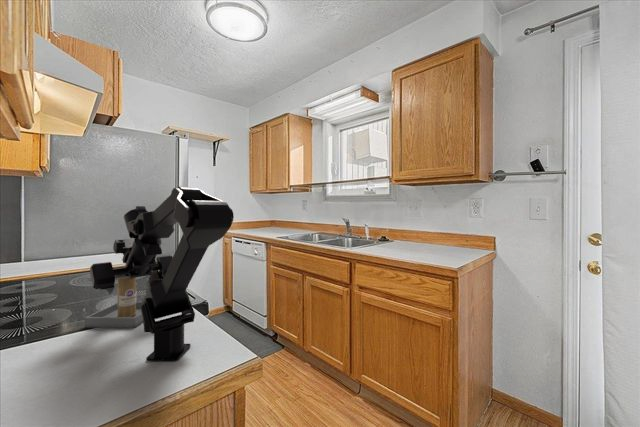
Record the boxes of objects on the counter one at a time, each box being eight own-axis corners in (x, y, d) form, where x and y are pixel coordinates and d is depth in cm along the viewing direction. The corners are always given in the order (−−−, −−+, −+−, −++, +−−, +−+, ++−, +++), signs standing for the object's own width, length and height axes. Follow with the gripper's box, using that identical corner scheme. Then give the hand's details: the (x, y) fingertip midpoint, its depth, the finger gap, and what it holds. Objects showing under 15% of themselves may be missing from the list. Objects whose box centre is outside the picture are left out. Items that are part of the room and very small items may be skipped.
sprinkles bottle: (124, 320, 77) (124, 271, 77) (113, 317, 79) (113, 269, 78) (140, 314, 81) (140, 267, 81) (129, 311, 83) (129, 266, 83)
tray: (135, 327, 74) (135, 318, 74) (84, 327, 74) (84, 317, 74) (162, 309, 87) (162, 301, 87) (119, 309, 87) (119, 301, 87)
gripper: (173, 227, 82) (158, 261, 89) (91, 230, 68) (81, 270, 75) (185, 257, 77) (168, 291, 84) (99, 268, 63) (88, 306, 70)
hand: (129, 288), depth 78 cm, fingers open, 9 cm apart
